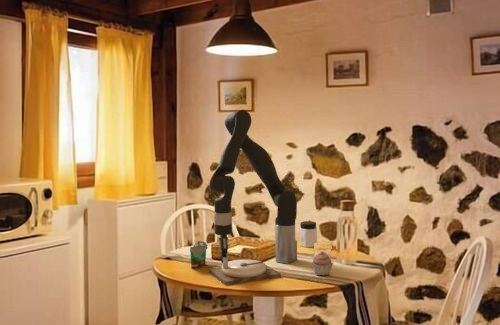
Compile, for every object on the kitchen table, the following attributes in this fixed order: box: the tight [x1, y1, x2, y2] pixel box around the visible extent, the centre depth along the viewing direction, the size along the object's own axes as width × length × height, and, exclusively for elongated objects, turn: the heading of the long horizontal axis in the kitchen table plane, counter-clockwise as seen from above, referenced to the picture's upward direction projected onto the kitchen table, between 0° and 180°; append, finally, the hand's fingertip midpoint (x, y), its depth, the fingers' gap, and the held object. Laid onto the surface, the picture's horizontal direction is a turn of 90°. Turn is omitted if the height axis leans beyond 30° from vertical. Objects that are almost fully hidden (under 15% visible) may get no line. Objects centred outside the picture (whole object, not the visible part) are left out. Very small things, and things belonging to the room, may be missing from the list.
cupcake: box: [310, 250, 334, 276], centre depth 232 cm, size 9×9×10 cm
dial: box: [221, 257, 267, 278], centre depth 233 cm, size 19×19×7 cm
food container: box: [189, 240, 209, 269], centre depth 248 cm, size 12×6×10 cm, turn 168°
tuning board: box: [207, 264, 282, 286], centre depth 233 cm, size 25×20×2 cm
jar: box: [299, 220, 318, 248], centre depth 282 cm, size 9×8×12 cm
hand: (223, 262), depth 232 cm, fingers closed
